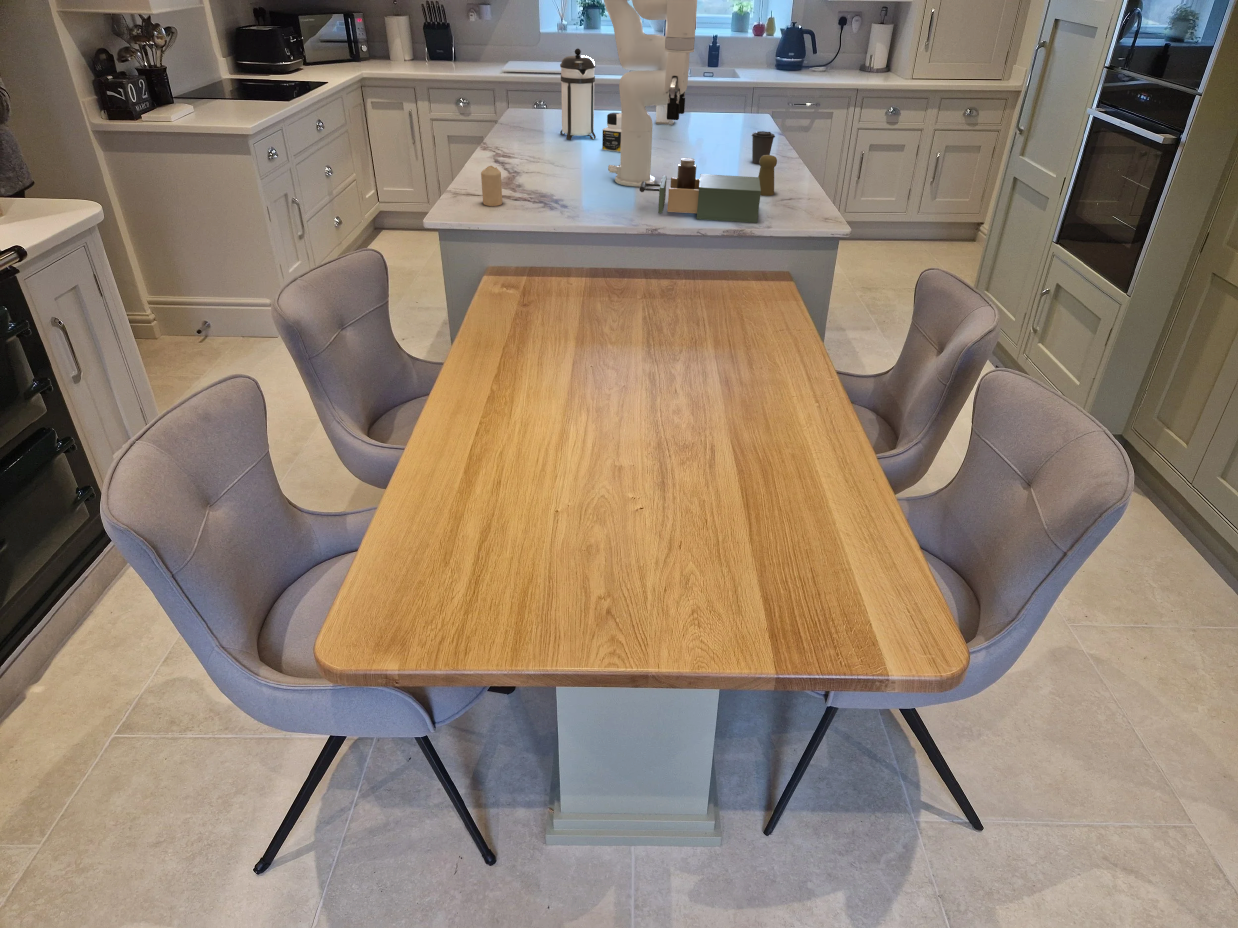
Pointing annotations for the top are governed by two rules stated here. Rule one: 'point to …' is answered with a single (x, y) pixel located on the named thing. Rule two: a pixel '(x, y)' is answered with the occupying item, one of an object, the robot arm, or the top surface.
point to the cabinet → (728, 198)
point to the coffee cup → (761, 145)
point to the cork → (767, 174)
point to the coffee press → (577, 95)
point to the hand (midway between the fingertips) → (675, 116)
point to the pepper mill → (686, 174)
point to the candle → (491, 186)
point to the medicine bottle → (612, 133)
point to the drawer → (675, 196)
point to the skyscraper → (662, 115)
